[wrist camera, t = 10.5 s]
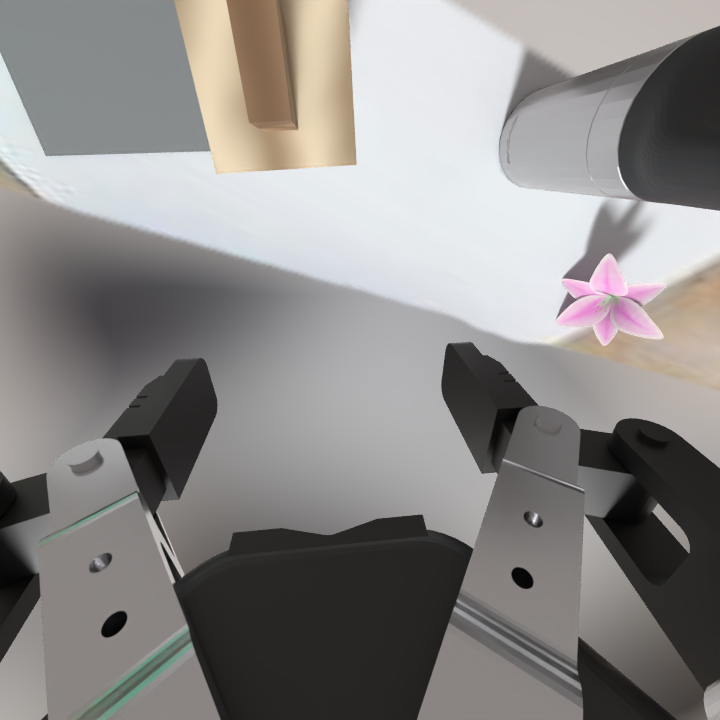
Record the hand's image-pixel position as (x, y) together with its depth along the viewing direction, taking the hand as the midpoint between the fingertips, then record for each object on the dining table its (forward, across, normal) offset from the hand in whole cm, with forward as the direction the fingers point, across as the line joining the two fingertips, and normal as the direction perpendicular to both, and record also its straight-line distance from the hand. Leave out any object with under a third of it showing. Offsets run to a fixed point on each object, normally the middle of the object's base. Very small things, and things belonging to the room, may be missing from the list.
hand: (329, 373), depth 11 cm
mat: (+32, +18, -15) cm, 39 cm away
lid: (+22, +3, -11) cm, 25 cm away
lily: (+32, -35, +10) cm, 49 cm away
